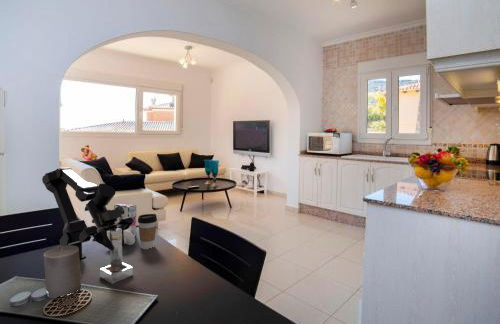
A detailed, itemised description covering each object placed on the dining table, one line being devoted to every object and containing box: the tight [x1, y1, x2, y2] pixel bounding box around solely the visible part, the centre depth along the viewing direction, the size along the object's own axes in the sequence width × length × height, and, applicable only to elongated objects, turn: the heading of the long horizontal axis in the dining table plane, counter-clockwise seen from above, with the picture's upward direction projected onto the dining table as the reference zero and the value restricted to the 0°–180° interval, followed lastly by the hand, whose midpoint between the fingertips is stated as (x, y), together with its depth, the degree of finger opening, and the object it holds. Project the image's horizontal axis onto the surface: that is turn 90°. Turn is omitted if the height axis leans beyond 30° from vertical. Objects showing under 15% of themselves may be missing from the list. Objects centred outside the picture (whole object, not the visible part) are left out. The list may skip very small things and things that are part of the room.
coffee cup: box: [137, 213, 158, 250], centre depth 134 cm, size 8×8×15 cm
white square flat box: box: [99, 261, 134, 284], centre depth 106 cm, size 8×8×3 cm
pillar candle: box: [43, 245, 82, 299], centre depth 95 cm, size 10×10×15 cm
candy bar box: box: [113, 202, 137, 238], centre depth 147 cm, size 11×5×16 cm, turn 62°
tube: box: [109, 228, 123, 267], centre depth 105 cm, size 4×4×13 cm
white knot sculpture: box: [107, 226, 136, 246], centre depth 135 cm, size 11×12×9 cm
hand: (118, 248), depth 105 cm, fingers closed on tube, 4 cm apart
